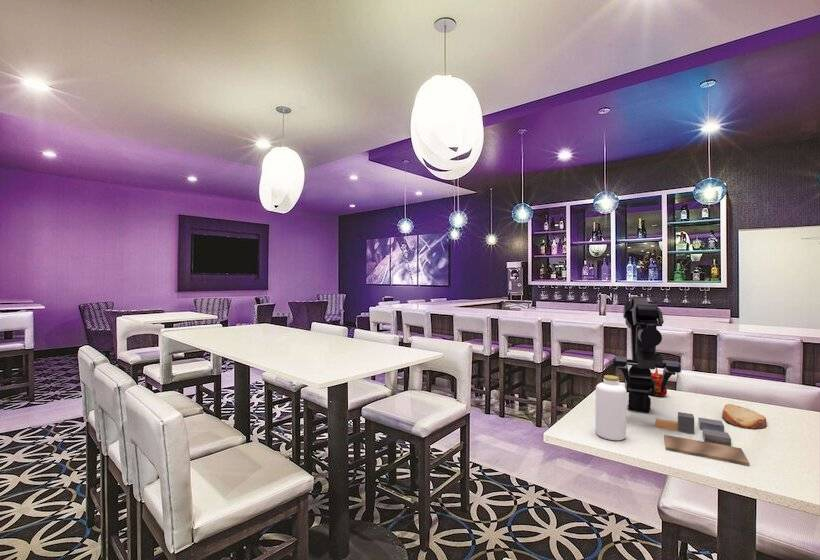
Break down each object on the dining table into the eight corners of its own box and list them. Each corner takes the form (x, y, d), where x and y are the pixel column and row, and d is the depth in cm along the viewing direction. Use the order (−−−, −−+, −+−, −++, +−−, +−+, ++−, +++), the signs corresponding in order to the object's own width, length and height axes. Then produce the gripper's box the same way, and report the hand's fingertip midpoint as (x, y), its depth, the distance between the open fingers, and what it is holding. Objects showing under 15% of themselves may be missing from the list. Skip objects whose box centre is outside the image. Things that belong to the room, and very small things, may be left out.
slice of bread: (734, 409, 146) (734, 399, 146) (790, 427, 128) (790, 416, 128) (693, 412, 142) (693, 401, 142) (745, 431, 125) (745, 419, 125)
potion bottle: (614, 443, 114) (615, 381, 114) (589, 433, 121) (590, 375, 121) (632, 438, 118) (633, 378, 118) (607, 428, 125) (607, 372, 125)
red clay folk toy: (643, 395, 161) (644, 358, 161) (647, 391, 166) (647, 355, 166) (665, 398, 156) (666, 361, 156) (668, 394, 161) (669, 358, 161)
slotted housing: (704, 442, 115) (704, 434, 115) (698, 424, 129) (698, 417, 129) (730, 447, 112) (731, 438, 112) (721, 428, 126) (721, 420, 126)
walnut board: (665, 449, 110) (665, 446, 110) (664, 437, 119) (664, 434, 119) (749, 466, 101) (749, 463, 101) (741, 451, 110) (741, 448, 110)
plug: (655, 427, 126) (656, 412, 126) (655, 423, 130) (655, 408, 130) (694, 434, 121) (694, 418, 121) (692, 429, 125) (693, 414, 125)
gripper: (613, 343, 127) (612, 391, 127) (683, 348, 118) (682, 400, 118) (614, 339, 137) (613, 384, 137) (678, 343, 128) (678, 392, 128)
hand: (645, 390), depth 129 cm, fingers open, 9 cm apart
